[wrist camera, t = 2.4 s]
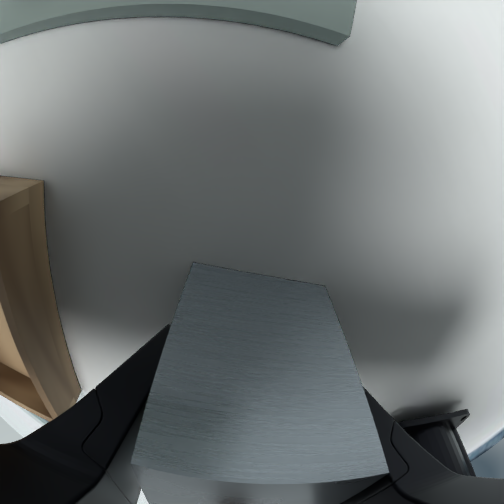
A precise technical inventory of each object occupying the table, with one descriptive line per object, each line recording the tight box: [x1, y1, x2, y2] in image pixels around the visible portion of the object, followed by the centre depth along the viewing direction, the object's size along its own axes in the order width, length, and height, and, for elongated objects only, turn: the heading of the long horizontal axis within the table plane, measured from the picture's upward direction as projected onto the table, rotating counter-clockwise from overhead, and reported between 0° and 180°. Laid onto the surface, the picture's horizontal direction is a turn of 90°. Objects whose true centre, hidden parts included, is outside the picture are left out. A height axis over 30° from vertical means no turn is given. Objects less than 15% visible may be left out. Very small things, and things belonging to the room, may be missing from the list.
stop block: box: [131, 262, 389, 504], centre depth 7 cm, size 4×4×6 cm
